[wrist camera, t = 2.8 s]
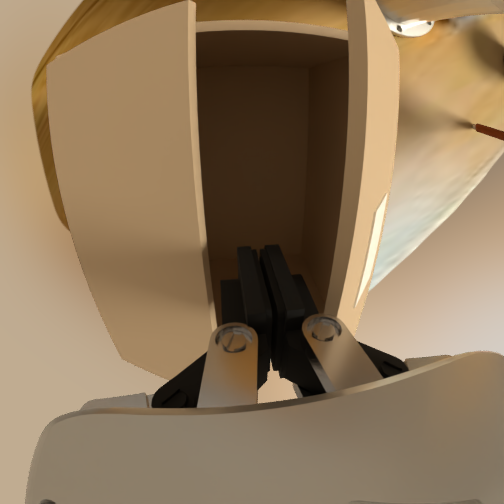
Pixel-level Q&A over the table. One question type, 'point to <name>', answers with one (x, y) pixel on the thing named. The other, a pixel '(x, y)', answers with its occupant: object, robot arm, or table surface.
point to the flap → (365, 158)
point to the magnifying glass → (489, 131)
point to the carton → (272, 144)
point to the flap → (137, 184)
